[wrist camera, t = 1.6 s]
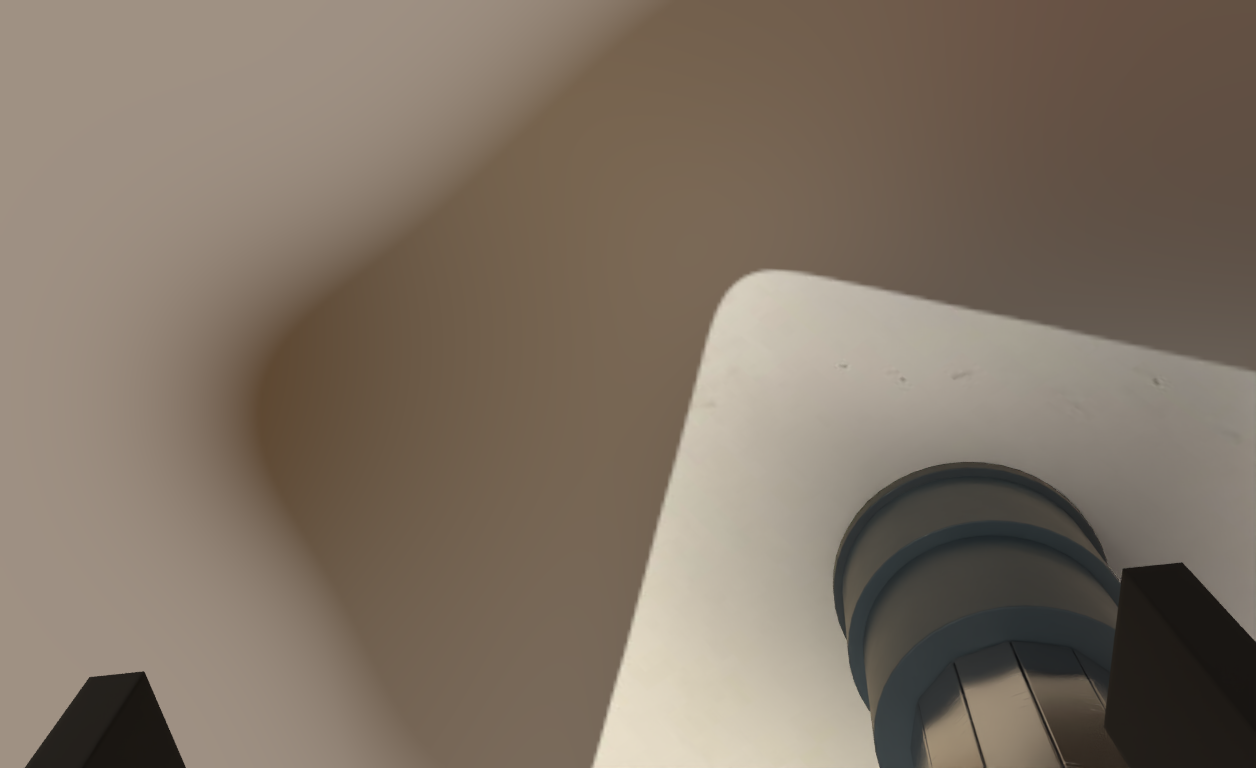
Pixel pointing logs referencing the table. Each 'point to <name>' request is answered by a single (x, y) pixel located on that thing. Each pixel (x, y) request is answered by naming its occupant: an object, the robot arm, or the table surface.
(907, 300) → the table surface
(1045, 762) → the steel cup
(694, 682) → the table surface
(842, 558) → the stepped grey cylinder
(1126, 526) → the table surface
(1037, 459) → the table surface
